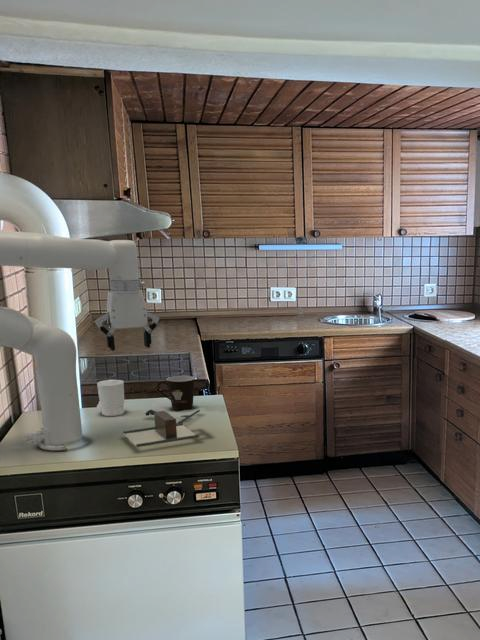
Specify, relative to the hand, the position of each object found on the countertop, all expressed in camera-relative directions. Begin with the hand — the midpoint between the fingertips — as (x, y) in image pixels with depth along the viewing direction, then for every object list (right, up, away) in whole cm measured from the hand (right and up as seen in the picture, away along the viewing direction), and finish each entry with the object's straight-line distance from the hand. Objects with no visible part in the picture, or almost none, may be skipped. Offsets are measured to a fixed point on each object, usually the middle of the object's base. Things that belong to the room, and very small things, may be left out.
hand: (130, 348), depth 196 cm
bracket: (+6, -20, +19) cm, 28 cm away
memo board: (+9, -26, -1) cm, 27 cm away
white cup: (-13, -18, +25) cm, 34 cm away
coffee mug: (+6, -17, +32) cm, 36 cm away
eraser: (+10, -24, -1) cm, 26 cm away
